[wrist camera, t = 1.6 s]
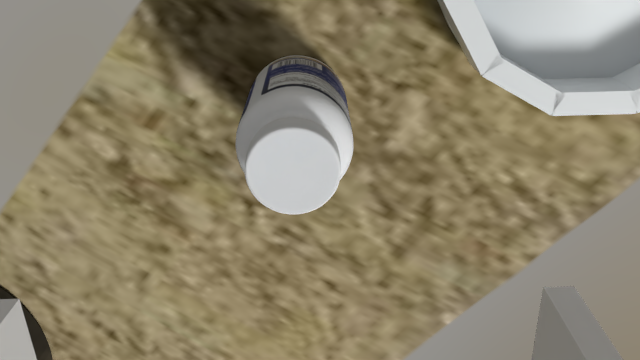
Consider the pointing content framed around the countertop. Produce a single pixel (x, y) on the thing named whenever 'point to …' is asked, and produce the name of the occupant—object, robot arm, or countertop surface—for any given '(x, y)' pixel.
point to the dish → (554, 51)
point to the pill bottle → (295, 135)
